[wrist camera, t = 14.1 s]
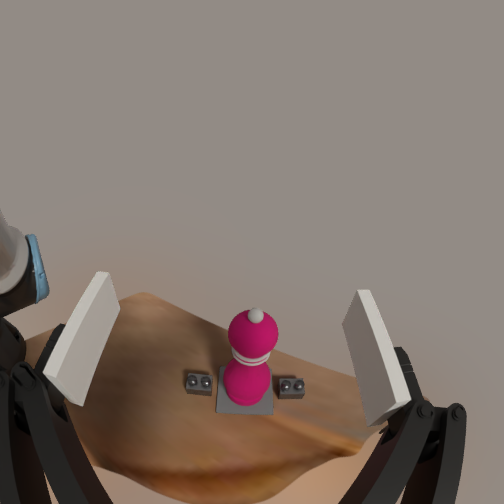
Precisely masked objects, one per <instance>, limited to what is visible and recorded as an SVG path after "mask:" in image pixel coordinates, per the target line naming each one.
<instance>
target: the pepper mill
mask: <svg viewBox="0 0 504 504" xmlns="http://www.w3.org/2000/svg"><path fill="white" fill-rule="evenodd" d="M228 338H229V342H230V344H231V346H232V354H233V356H234V359H232V360H231V361H230V362H229V363H228V365H227V366H226V368H225V370H224V375H223V382H224V386H225V388H226V392H227V395H228V397H229V398H230V400H231V401H233V402H234V403H236V404H238V405H241V406H251V405H254V404H256V403H258V402H259V401H260V400H261V399H262V397H263V395H264V393H265V392H266V391H267V390H268V388H269V386H270V381H271V374H270V370H269V367H268V365H267V364H266V362H265V361H266V360H267V359H268V358H269V355H270V351H271V350H272V349H273V348H274V346H275V345H276V343H277V340H278V328H277V325H276V322H275V321H274V319H273V318H272V317H271V316H270V315H268V314H267V313H265V312H263V311H262V310H261V309H259V308H252V309H251V310H247V311H243V312H241V313H239V314H238V315H237V316H235V317H234V319H233V320H232V322H231V324H230V326H229V330H228Z"/></svg>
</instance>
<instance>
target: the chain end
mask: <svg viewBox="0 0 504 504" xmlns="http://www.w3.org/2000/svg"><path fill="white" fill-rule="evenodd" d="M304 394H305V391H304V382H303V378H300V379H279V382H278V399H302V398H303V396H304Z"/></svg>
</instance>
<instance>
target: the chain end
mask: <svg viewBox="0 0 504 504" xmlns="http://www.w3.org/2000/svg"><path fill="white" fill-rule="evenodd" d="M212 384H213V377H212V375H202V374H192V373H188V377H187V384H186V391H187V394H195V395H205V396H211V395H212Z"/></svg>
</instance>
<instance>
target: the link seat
mask: <svg viewBox="0 0 504 504" xmlns="http://www.w3.org/2000/svg"><path fill="white" fill-rule="evenodd" d="M225 368H226V367H224V366H220V371H219V383H218V395H217V407H216V413H229V414H250V415H273V393H272V371H271V369H269V370H270V374H271V381H270V386H269V388H268V390H267V391H266V392H265V393H264V395H263V397H262V399H261V400H260V401H259V402H258V403H256V404H254V405H251V406H241V405H238V404H236V403H234V402H233V401H231V400H230V398H229V397H228V395H227V392H226V388H225V386H224V382H223V375H224V370H225Z"/></svg>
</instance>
